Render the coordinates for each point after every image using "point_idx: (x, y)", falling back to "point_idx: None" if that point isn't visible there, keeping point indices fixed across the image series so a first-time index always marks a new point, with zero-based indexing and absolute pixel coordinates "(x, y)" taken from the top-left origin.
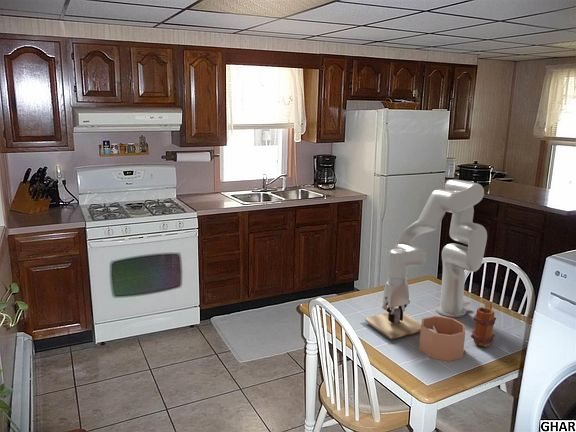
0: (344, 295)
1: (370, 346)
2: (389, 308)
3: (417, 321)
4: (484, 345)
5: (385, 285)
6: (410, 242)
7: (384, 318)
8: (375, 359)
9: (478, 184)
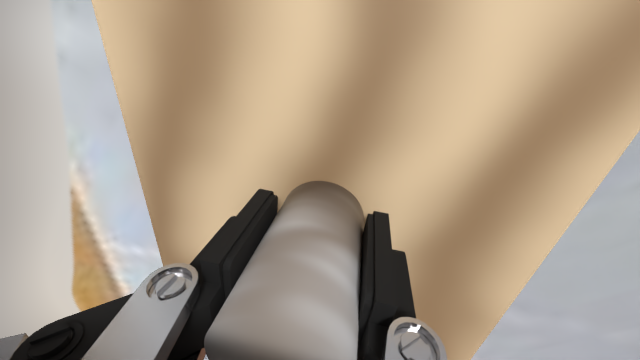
0: None
1: (87, 233)
2: (146, 343)
3: (497, 312)
4: None
5: None
6: None
7: (291, 90)
8: (81, 296)
9: None
